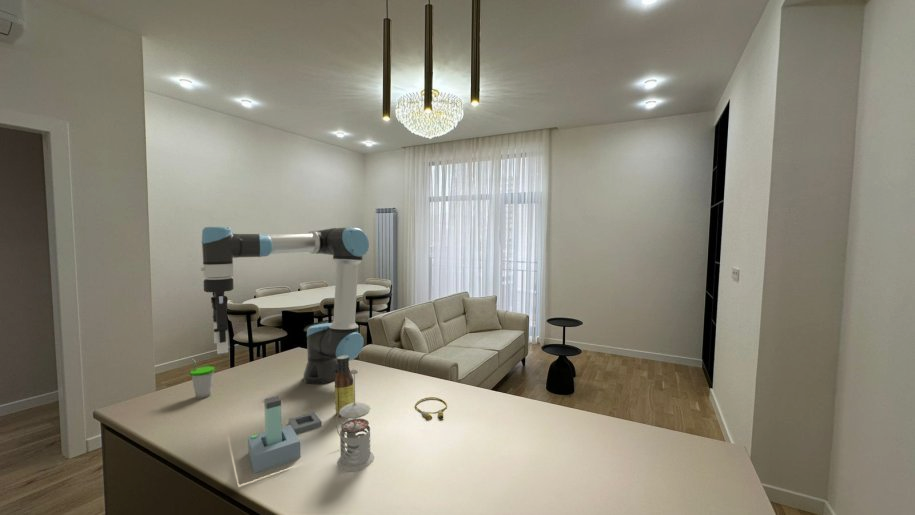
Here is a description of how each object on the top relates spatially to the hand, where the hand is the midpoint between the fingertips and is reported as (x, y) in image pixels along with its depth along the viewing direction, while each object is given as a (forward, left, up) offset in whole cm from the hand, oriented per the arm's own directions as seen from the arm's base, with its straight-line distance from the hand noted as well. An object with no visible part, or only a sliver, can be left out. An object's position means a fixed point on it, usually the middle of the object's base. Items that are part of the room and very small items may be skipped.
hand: (220, 347), depth 110 cm
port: (-10, +23, -27) cm, 37 cm away
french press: (-27, +37, -27) cm, 53 cm away
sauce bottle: (-34, +11, -27) cm, 45 cm away
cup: (+4, -36, -27) cm, 45 cm away
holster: (-21, +11, -27) cm, 36 cm away
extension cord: (-60, +25, -28) cm, 70 cm away
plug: (-10, +23, -26) cm, 36 cm away
